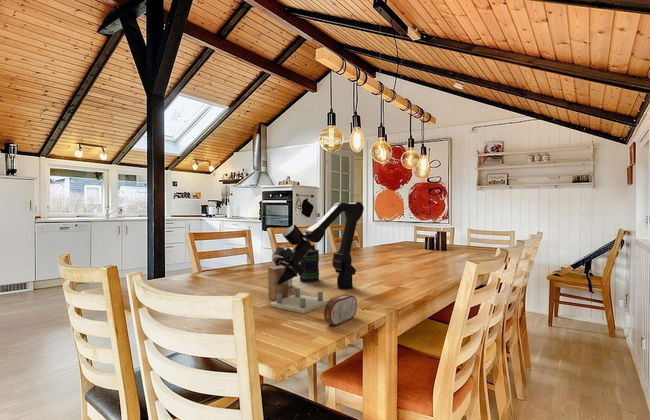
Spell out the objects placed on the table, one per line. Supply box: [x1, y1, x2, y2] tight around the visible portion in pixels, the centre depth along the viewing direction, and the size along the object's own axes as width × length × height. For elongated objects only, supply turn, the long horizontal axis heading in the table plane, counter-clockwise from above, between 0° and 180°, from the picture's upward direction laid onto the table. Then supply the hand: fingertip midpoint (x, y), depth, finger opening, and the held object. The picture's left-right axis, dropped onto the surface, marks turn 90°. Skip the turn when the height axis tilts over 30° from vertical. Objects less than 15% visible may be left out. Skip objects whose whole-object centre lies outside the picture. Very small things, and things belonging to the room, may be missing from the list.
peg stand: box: [269, 287, 330, 314], centre depth 136 cm, size 16×16×4 cm
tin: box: [323, 293, 358, 326], centre depth 116 cm, size 15×3×8 cm, turn 141°
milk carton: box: [271, 244, 293, 288], centre depth 165 cm, size 7×7×19 cm
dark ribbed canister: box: [299, 248, 320, 283], centre depth 179 cm, size 10×10×15 cm
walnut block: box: [267, 265, 289, 302], centre depth 145 cm, size 6×6×12 cm
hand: (275, 282), depth 145 cm, fingers closed on walnut block, 6 cm apart
